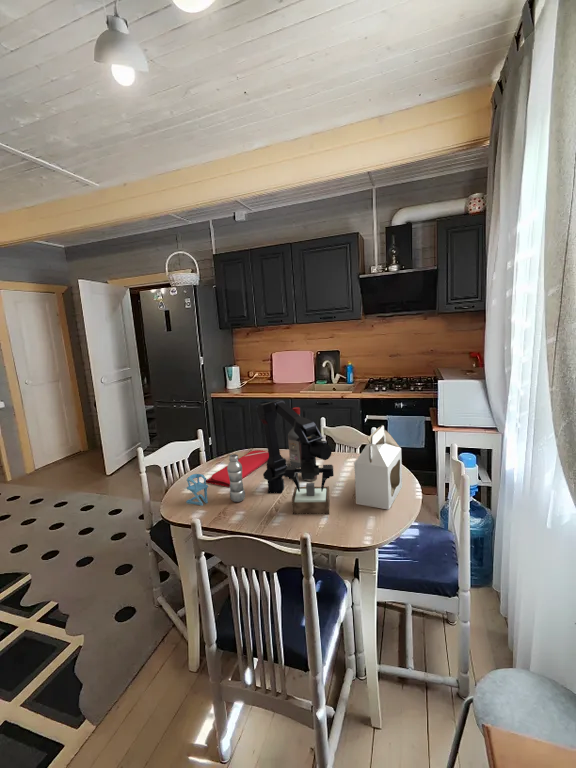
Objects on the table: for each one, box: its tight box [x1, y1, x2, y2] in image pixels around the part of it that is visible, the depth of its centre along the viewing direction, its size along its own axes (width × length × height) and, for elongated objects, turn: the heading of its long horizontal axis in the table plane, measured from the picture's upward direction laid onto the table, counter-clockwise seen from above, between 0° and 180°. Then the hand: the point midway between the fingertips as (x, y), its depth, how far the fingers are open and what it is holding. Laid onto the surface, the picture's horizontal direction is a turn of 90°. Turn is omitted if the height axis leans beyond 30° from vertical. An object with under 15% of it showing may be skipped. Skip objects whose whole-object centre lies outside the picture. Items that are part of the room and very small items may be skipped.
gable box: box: [353, 424, 403, 510], centre depth 155 cm, size 22×13×28 cm, turn 151°
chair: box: [185, 473, 209, 507], centre depth 162 cm, size 8×8×12 cm
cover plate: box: [294, 482, 326, 502], centre depth 149 cm, size 12×10×5 cm
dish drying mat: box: [206, 449, 269, 488], centre depth 196 cm, size 16×41×4 cm, turn 151°
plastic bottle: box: [226, 453, 246, 503], centre depth 160 cm, size 6×7×20 cm
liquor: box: [287, 406, 301, 468], centre depth 194 cm, size 9×9×30 cm
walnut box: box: [291, 485, 331, 515], centre depth 151 cm, size 14×11×6 cm
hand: (310, 491), depth 150 cm, fingers open, 9 cm apart
